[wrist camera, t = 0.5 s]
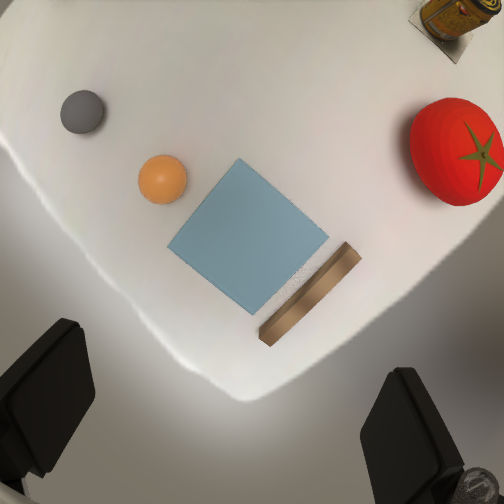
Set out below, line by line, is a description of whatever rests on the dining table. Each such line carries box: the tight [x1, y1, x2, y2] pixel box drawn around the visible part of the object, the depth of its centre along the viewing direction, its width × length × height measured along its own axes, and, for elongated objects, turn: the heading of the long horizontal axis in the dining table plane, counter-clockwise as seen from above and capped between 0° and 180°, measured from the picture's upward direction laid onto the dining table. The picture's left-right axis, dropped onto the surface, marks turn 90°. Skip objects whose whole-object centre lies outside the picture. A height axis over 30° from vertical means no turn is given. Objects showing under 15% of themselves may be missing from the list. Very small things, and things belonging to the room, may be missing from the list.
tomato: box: [410, 98, 504, 206], centre depth 29 cm, size 11×12×10 cm
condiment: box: [409, 0, 502, 64], centre depth 22 cm, size 7×8×12 cm
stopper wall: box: [259, 242, 362, 347], centre depth 39 cm, size 16×2×2 cm, turn 139°
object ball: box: [138, 155, 187, 204], centre depth 34 cm, size 6×6×6 cm
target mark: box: [168, 158, 329, 315], centre depth 38 cm, size 14×14×1 cm
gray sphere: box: [60, 90, 103, 134], centre depth 32 cm, size 6×6×6 cm
